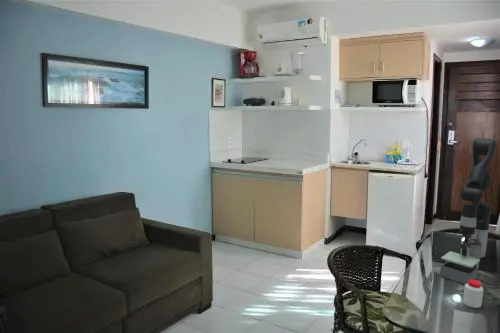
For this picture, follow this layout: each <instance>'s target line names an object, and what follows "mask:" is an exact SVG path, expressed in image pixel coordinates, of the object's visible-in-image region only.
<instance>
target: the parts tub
mask: <svg viewBox="0 0 500 333" xmlns="http://www.w3.org/2000/svg"><path fill="white" fill-rule="evenodd" d="M478 275H479V269H478V268H477V267H474V266H473V267H472V268H471V267H466V266H463V265H459V264H456V263H452V262H449V261H446V262H444V263H443V264H442V265H440V271H439V277H441V278H444V279H448V280H452V281H454V282H457V283H460V284H463V285H465V284H467V283H468V280H470V279H473V280H478Z"/></svg>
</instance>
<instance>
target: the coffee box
mask: <svg viewBox="0 0 500 333" xmlns="http://www.w3.org/2000/svg"><path fill="white" fill-rule="evenodd" d="M481 246H482V244H481V243H480V242H479V241H478V240H477V239H472V241H471V244H470V246H469V248H470V250H469V257H473V258H476V259H480V260H481V258H480V254H481ZM474 267H477V268H478V270H479V267H480V261H479V262H478V263H477V264H476V265H474Z"/></svg>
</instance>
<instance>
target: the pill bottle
mask: <svg viewBox="0 0 500 333" xmlns="http://www.w3.org/2000/svg"><path fill="white" fill-rule="evenodd" d="M463 290H464V291H463V298H462V302H463V304H464V305H465V306H468V307H469V308H472V309H473V308H475V309H476V308H477V309H478V308H481V307H482V302H483V296H484V295H483V294H484V287H483V286H482V282H481V281H479V280H478V279H476V280H473V279H470V280H468V283H467V284H464V289H463Z"/></svg>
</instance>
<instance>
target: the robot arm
mask: <svg viewBox="0 0 500 333" xmlns="http://www.w3.org/2000/svg"><path fill="white" fill-rule="evenodd" d="M496 149H497V142H496V140H495V139H492V138H481V137H478V138H477V137H476V138H474V140H473V142H472V168H471V170H470V172H469V176H468V178H467V181H466V182H465V184H464V185H463V186H462V188H461V189H460V191H459V197H460V198H461V200H463V201H469V202H470V204H464V205H462V208H461V217H460V222H459V230H458V232H459V233H461V234H462V235H461V236H460V237H461V239H460V240H459V245H460V249H461V248H462V255H464V256H466V254H467V247H469V246H470V244H471V241H472V239H477V240H478V241H479V242H480V243H481V244H482V246H481V254H480V259H482V258H485V257H486V253H487V252H486V251H487V244H488V235H489V227H490V219H491V213H492V209H493V208H492V204H491V203H490V202H484V201H482V199H483V196H484V192H485V191H487V190H488V189H489V187H490V186H491V173H490V171H489V169H488V168H489V166H490V164H491V161H492V160H493V157H494V155H495V152H496ZM481 156H484V158H483V159H482V157H481ZM477 218H482V219H481V220H477Z"/></svg>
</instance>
